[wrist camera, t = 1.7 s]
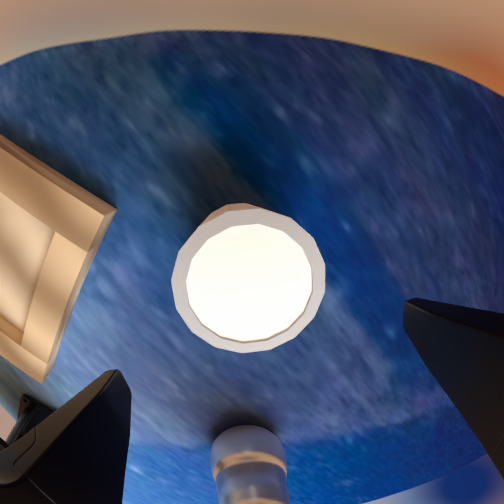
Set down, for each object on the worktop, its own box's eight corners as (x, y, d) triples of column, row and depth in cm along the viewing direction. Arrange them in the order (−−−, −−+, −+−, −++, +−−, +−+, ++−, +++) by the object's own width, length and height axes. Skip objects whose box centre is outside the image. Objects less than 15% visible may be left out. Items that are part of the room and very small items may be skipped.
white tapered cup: (302, 279, 21) (338, 328, 15) (205, 308, 21) (201, 369, 15) (277, 179, 19) (308, 188, 13) (171, 211, 19) (147, 236, 13)
